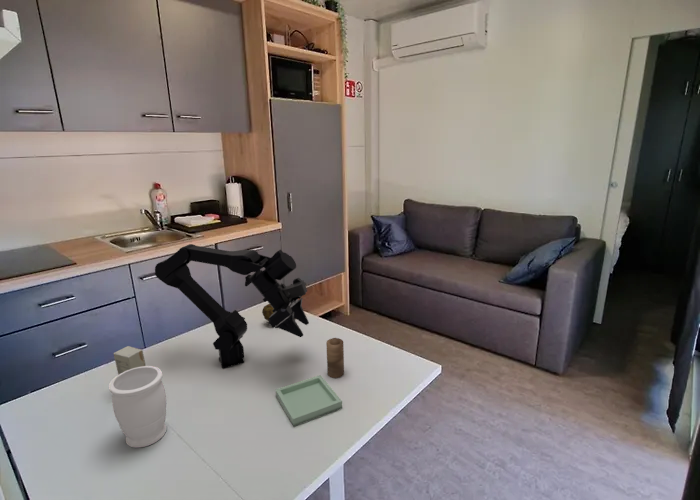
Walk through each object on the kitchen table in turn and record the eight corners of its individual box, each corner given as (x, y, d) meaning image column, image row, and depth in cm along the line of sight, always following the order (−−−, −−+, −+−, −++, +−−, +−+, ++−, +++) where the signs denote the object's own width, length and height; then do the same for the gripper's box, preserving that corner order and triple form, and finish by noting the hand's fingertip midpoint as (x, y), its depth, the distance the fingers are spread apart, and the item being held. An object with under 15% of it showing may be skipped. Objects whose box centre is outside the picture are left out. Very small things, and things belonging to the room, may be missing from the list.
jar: (181, 424, 92) (172, 369, 88) (146, 457, 82) (134, 397, 78) (147, 415, 95) (137, 362, 91) (109, 445, 86) (96, 387, 82)
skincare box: (151, 389, 105) (144, 349, 102) (136, 398, 102) (129, 357, 98) (135, 383, 108) (127, 344, 105) (120, 392, 104) (112, 352, 101)
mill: (332, 379, 108) (330, 344, 105) (324, 371, 112) (323, 337, 109) (347, 375, 110) (346, 339, 107) (339, 366, 114) (338, 332, 111)
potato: (299, 324, 142) (298, 304, 140) (264, 330, 138) (262, 309, 136) (295, 315, 150) (294, 296, 147) (262, 320, 146) (260, 300, 144)
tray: (293, 426, 91) (293, 419, 90) (275, 396, 102) (275, 389, 101) (342, 408, 97) (342, 401, 96) (320, 381, 108) (320, 375, 107)
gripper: (284, 279, 99) (322, 325, 100) (297, 264, 117) (330, 303, 119) (251, 305, 100) (290, 349, 102) (270, 286, 119) (302, 324, 120)
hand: (305, 329), depth 111 cm, fingers open, 9 cm apart
